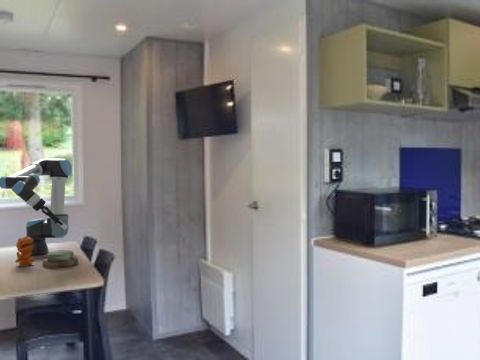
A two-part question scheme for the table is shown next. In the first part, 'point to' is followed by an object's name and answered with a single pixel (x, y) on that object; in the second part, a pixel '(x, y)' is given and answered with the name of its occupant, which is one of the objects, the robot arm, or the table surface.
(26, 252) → the toy dinosaur
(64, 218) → the teal tapered container
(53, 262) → the plinth
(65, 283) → the table surface
